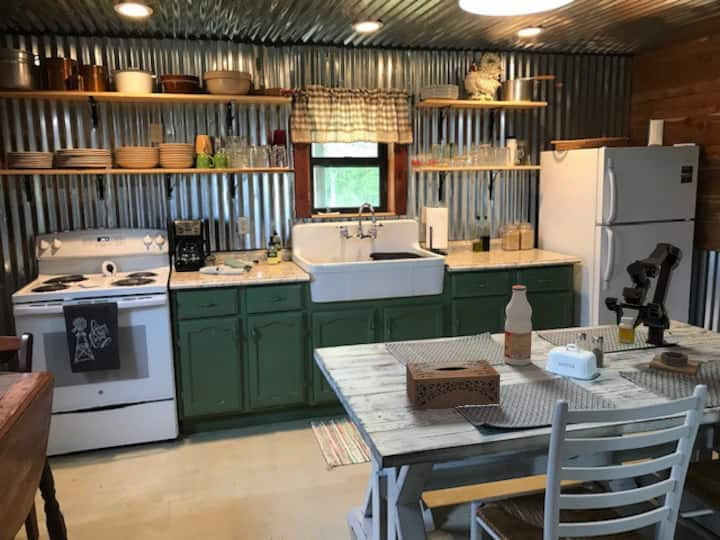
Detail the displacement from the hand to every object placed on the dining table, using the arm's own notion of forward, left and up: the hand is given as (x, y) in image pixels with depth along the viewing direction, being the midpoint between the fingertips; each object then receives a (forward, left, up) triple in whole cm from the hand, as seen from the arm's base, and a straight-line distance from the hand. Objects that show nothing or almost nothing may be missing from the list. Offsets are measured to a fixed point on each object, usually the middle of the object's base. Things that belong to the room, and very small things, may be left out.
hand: (625, 326), depth 212 cm
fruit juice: (+19, -32, -13) cm, 40 cm away
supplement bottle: (-1, 0, -7) cm, 7 cm away
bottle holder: (-5, +16, -13) cm, 21 cm away
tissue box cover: (+63, -37, -14) cm, 75 cm away
